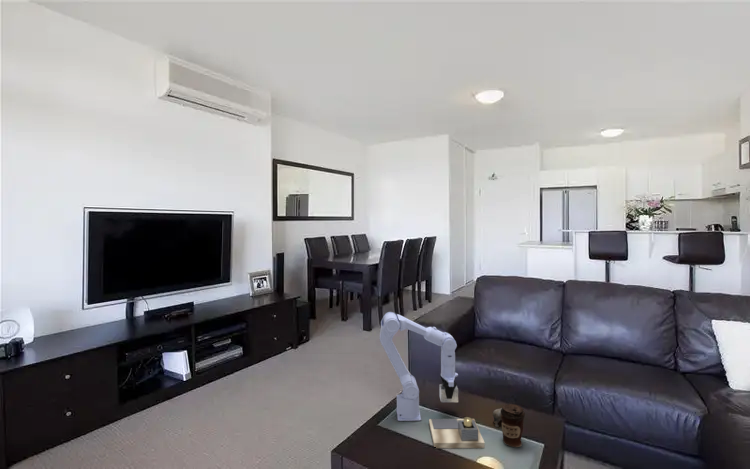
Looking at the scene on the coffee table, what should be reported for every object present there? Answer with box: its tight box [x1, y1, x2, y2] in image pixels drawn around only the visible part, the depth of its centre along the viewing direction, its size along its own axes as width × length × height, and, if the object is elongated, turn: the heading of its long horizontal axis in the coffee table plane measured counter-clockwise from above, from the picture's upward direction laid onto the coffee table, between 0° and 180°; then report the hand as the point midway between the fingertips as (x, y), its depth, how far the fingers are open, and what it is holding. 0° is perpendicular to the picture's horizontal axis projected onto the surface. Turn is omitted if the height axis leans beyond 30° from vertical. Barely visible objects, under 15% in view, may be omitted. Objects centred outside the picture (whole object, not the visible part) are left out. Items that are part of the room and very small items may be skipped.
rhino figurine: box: [492, 407, 503, 428], centre depth 148 cm, size 4×14×6 cm, turn 121°
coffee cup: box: [500, 403, 526, 448], centre depth 133 cm, size 9×8×13 cm
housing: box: [439, 383, 459, 403], centre depth 153 cm, size 7×4×6 cm, turn 89°
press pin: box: [463, 416, 473, 428], centre depth 135 cm, size 3×3×4 cm
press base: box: [428, 418, 486, 449], centre depth 139 cm, size 18×15×6 cm
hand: (448, 395), depth 153 cm, fingers closed on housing, 4 cm apart
